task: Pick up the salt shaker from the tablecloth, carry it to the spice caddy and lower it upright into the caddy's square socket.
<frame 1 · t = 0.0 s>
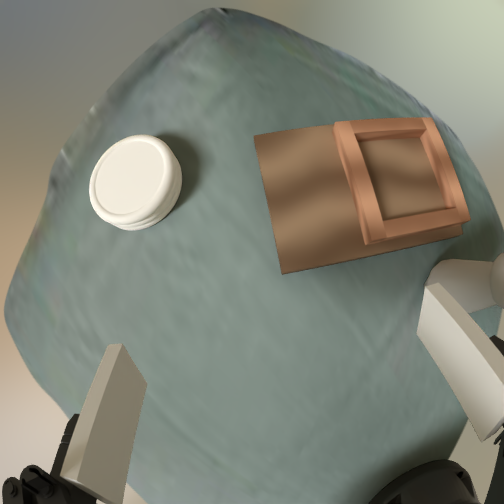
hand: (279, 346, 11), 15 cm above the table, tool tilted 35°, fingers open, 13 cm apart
salt shaker: (438, 290, 26), on the table
spice caddy: (396, 182, 28), on the table
white round container: (141, 188, 30), on the table
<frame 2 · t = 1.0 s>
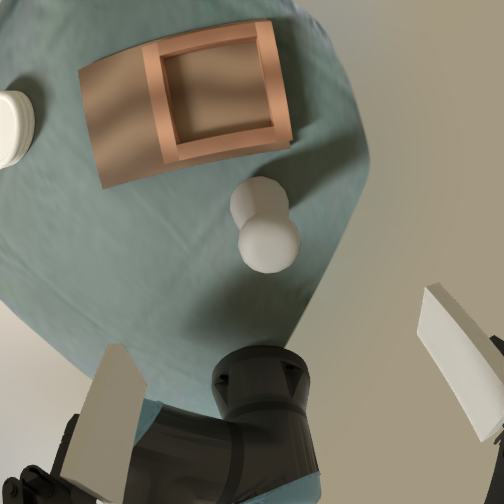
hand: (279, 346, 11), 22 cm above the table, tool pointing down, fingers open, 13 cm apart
salt shaker: (257, 198, 31), on the table
spice caddy: (218, 91, 26), on the table
white round container: (11, 127, 25), on the table
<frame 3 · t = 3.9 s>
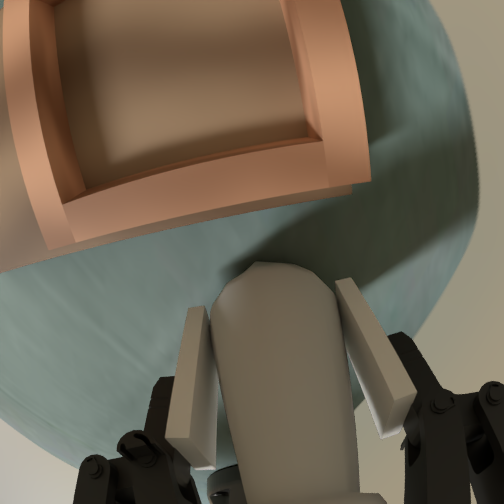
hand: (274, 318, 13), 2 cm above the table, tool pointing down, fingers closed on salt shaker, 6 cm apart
salt shaker: (269, 293, 15), on the table, touching gripper
spice caddy: (171, 55, 10), on the table
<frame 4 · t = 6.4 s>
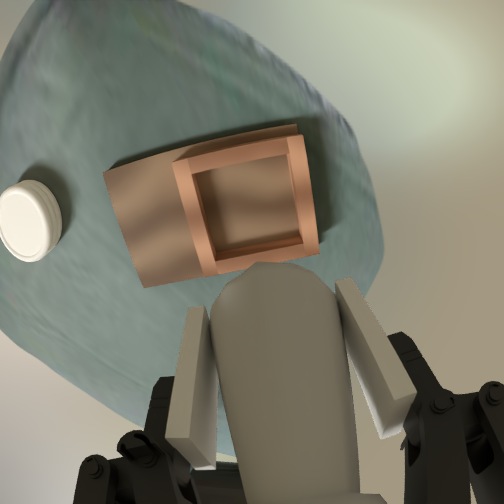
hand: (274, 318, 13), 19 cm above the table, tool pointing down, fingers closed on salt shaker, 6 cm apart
salt shaker: (269, 293, 15), point 17 cm above the table, touching gripper
spice caddy: (248, 199, 30), on the table
white round container: (35, 215, 30), on the table
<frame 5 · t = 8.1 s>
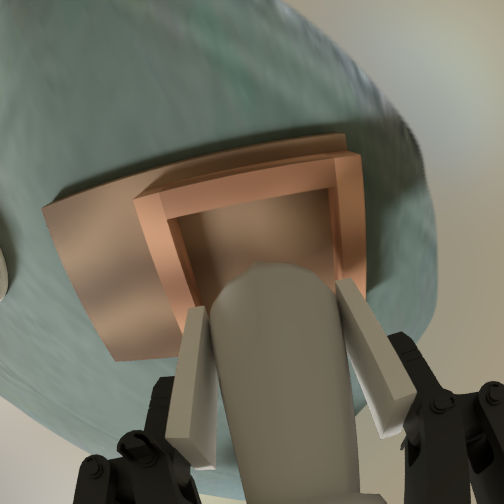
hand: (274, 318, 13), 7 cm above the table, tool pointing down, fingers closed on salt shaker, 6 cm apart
salt shaker: (269, 292, 15), point 5 cm above the table, touching gripper
spice caddy: (261, 250, 20), on the table
when the fingers open (5 cm above the table, at t = 9.2 s): salt shaker drops 2 cm, resting on spice caddy.
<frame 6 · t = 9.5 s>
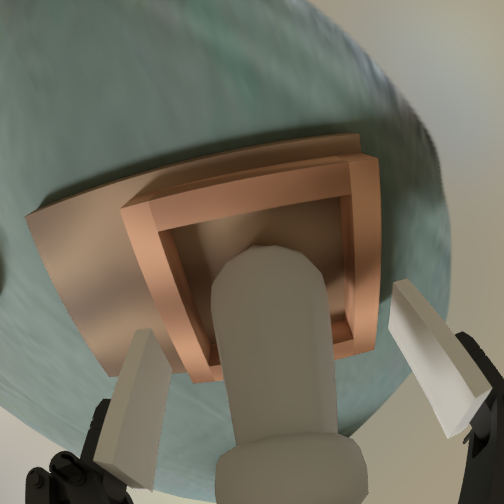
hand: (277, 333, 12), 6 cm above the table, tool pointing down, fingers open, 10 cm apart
salt shaker: (265, 274, 17), point 1 cm above the table, touching spice caddy
spice caddy: (264, 262, 18), on the table
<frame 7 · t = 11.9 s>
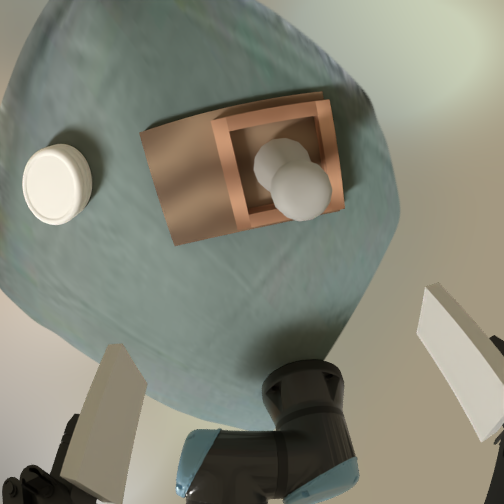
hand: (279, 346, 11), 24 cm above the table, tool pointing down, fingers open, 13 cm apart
salt shaker: (279, 161, 31), point 1 cm above the table, touching spice caddy
spice caddy: (278, 159, 32), on the table
white round container: (63, 180, 31), on the table
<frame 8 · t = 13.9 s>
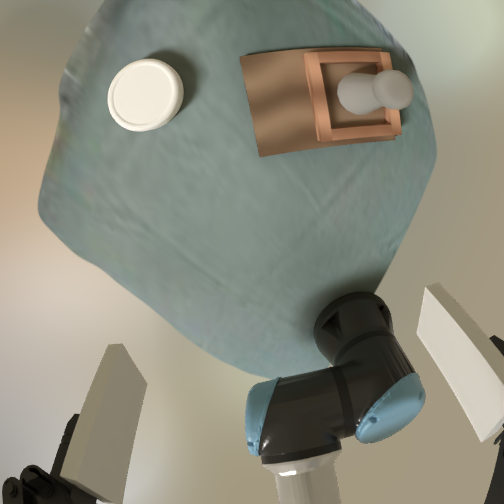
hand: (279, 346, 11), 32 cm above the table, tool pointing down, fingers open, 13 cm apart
salt shaker: (351, 94, 34), point 1 cm above the table, touching spice caddy
spice caddy: (348, 94, 35), on the table
white round container: (149, 95, 34), on the table
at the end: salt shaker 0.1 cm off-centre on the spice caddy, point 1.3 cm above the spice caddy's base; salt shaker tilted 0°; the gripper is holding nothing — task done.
